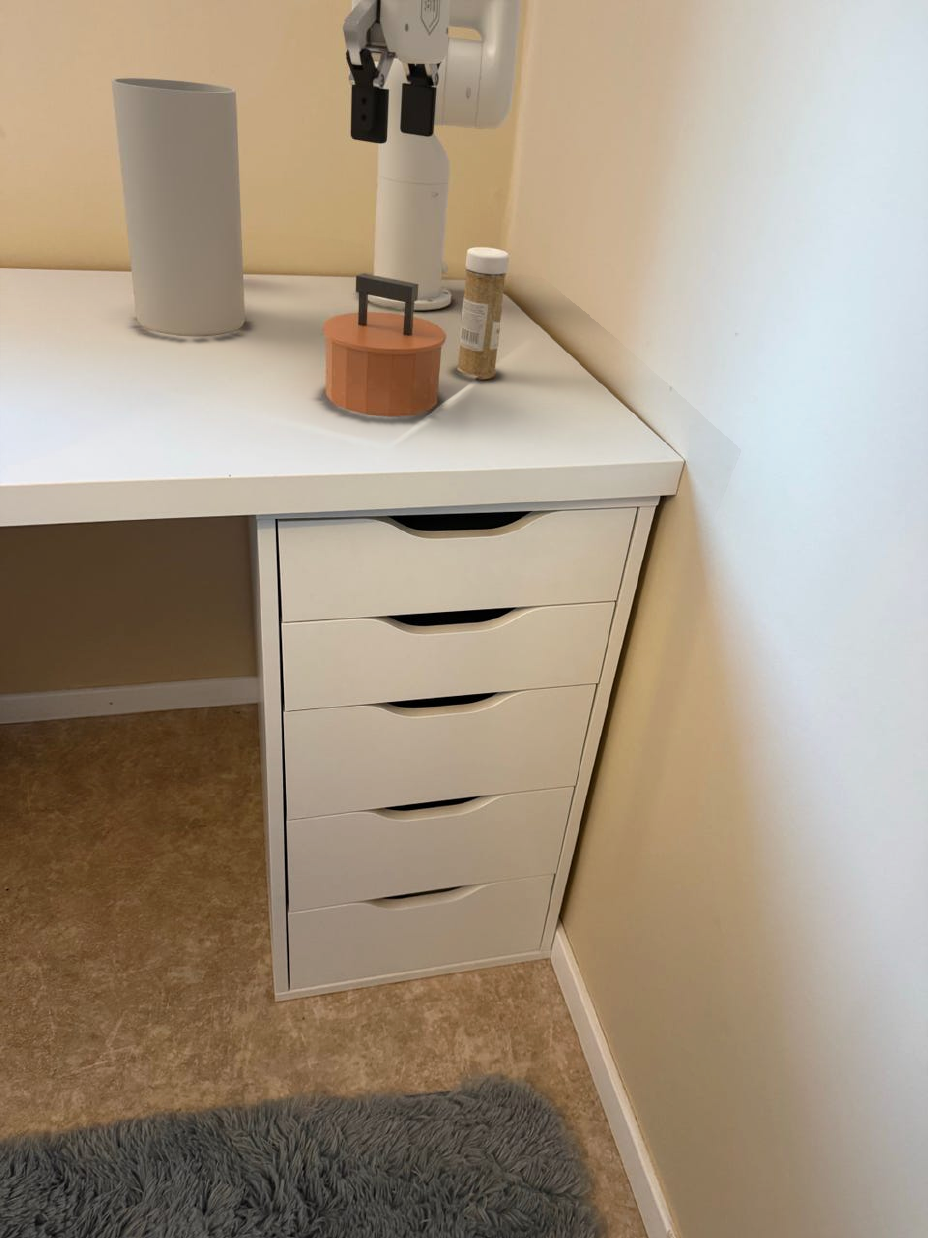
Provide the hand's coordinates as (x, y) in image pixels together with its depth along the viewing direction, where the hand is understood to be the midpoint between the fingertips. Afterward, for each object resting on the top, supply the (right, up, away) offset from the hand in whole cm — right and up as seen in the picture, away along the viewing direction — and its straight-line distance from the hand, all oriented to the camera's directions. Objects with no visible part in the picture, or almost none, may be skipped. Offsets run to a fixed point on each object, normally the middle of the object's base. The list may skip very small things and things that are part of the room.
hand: (393, 137), depth 80 cm
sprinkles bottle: (+8, -15, +23) cm, 29 cm away
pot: (-2, -20, +13) cm, 24 cm away
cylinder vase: (-27, -7, +29) cm, 40 cm away
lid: (-2, -14, +10) cm, 18 cm away
